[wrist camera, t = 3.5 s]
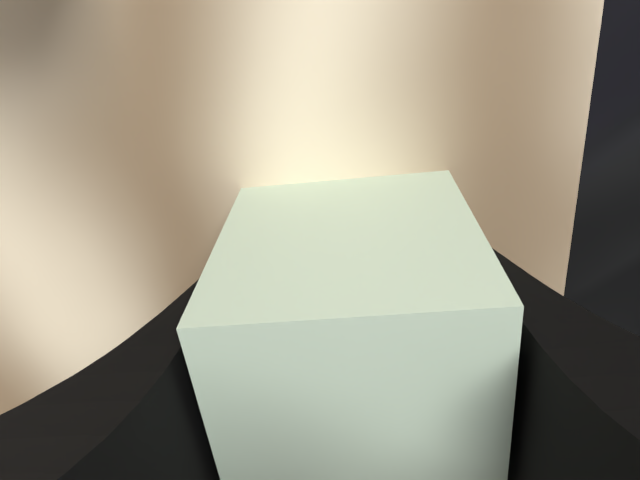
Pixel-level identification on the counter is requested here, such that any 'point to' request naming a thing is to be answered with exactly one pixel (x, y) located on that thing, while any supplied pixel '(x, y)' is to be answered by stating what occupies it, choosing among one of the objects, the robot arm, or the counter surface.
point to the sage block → (355, 335)
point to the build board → (259, 140)
